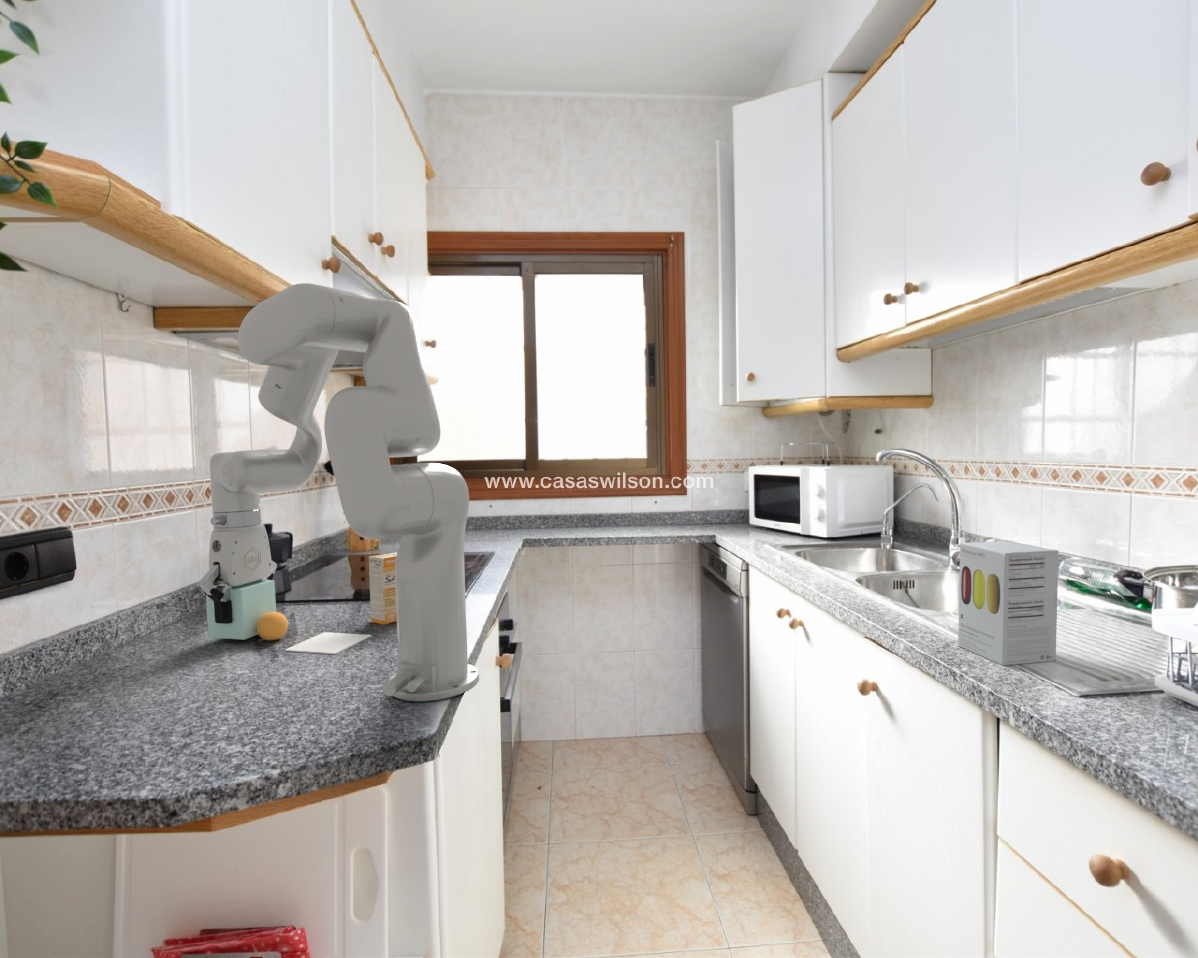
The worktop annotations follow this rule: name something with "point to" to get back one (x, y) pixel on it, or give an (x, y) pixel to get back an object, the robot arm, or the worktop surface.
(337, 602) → the worktop surface
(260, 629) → the ball
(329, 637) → the tape square
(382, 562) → the supplement box
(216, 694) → the worktop surface
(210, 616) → the mint foam cube
